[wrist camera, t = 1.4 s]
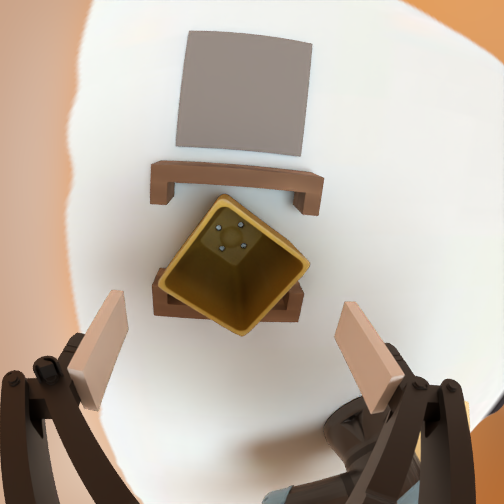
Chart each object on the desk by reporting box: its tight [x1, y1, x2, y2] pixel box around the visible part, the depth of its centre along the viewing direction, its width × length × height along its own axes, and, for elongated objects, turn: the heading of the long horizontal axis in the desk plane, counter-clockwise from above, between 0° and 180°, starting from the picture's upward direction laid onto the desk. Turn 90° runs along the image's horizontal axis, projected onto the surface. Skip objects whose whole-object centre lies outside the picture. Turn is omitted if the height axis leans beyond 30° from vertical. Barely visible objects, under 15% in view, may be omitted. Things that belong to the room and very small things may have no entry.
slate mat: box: [176, 31, 312, 156], centre depth 25 cm, size 12×12×1 cm
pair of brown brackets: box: [150, 161, 324, 322], centre depth 29 cm, size 15×15×4 cm
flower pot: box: [158, 194, 310, 336], centre depth 27 cm, size 9×9×9 cm
